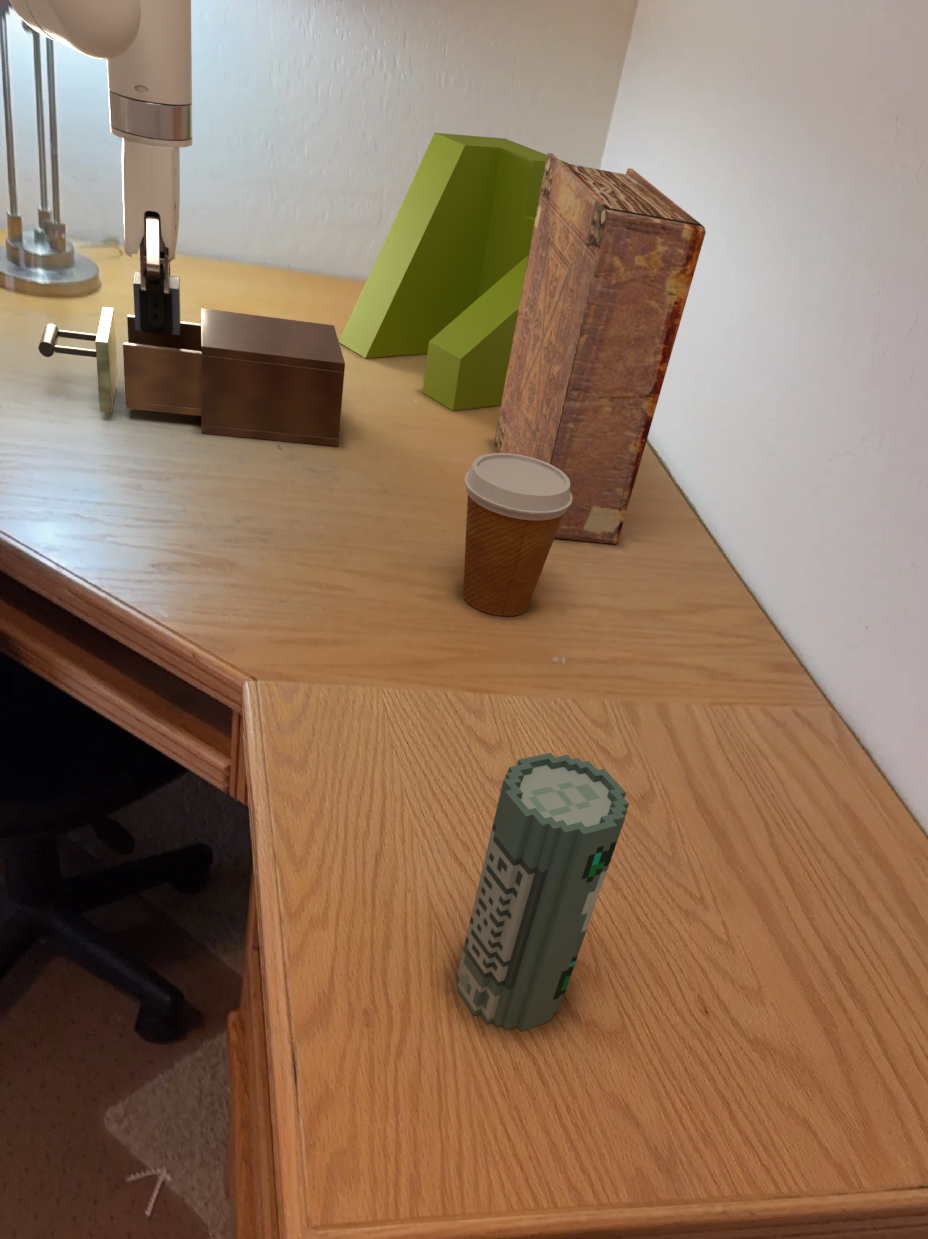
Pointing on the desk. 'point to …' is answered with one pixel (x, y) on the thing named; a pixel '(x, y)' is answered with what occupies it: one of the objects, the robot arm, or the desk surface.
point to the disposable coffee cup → (510, 529)
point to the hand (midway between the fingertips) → (157, 322)
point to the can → (538, 887)
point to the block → (175, 290)
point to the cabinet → (270, 378)
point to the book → (596, 335)
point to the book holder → (454, 268)
